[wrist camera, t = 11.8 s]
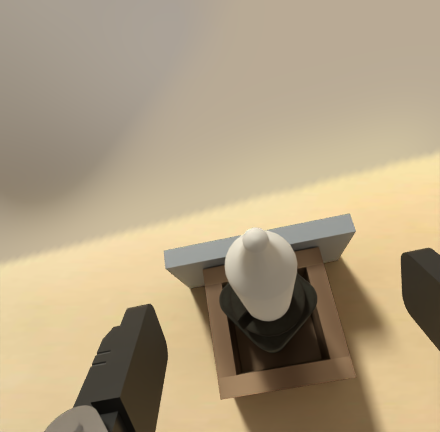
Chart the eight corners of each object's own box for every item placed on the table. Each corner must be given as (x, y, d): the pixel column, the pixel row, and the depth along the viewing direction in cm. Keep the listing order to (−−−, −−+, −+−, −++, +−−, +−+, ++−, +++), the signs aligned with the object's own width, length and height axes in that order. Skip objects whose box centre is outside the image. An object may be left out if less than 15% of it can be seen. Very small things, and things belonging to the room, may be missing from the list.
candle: (309, 317, 33) (377, 229, 10) (273, 359, 32) (260, 363, 9) (269, 281, 35) (250, 138, 12) (234, 319, 34) (143, 242, 11)
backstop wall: (189, 288, 37) (165, 268, 29) (188, 274, 38) (163, 250, 30) (337, 260, 36) (355, 231, 28) (333, 245, 37) (349, 213, 29)
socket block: (231, 391, 33) (220, 399, 27) (215, 284, 37) (202, 269, 31) (340, 373, 32) (356, 377, 26) (311, 266, 36) (319, 246, 30)
